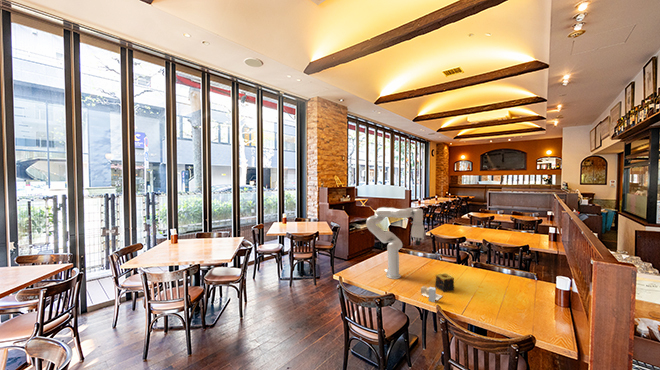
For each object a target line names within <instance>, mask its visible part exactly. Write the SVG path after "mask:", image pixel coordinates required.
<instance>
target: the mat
mask: <svg viewBox="0 0 660 370" xmlns="http://www.w3.org/2000/svg"><path fill="white" fill-rule="evenodd" d="M422 295H423V297H425V296H426V298H428V297H429V295H426V294H423V293H421V296H422ZM441 298H443V295H441V294H438V293H436V301H439V300H440V299H441Z"/></svg>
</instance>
